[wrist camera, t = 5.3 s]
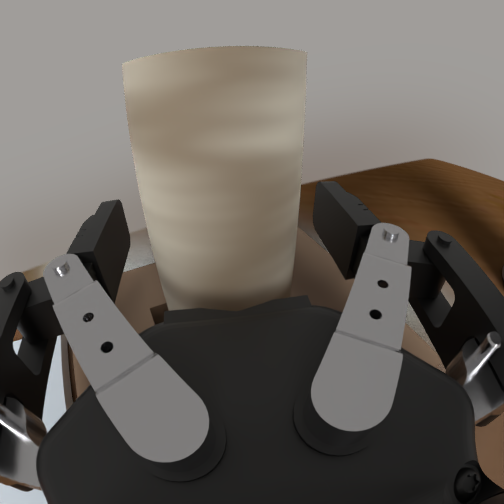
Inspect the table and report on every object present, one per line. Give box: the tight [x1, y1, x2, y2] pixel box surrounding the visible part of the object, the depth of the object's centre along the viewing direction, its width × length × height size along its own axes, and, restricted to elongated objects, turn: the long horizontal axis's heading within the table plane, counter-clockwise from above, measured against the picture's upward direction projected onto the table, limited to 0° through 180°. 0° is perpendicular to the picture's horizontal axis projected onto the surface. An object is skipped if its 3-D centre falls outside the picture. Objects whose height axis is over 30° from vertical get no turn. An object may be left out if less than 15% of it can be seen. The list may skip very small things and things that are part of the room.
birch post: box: [122, 46, 307, 311], centre depth 11 cm, size 5×5×14 cm
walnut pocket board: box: [72, 226, 442, 397], centre depth 14 cm, size 16×14×2 cm
